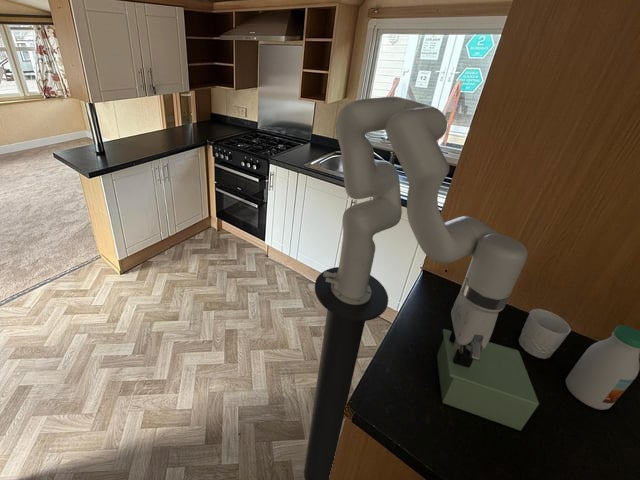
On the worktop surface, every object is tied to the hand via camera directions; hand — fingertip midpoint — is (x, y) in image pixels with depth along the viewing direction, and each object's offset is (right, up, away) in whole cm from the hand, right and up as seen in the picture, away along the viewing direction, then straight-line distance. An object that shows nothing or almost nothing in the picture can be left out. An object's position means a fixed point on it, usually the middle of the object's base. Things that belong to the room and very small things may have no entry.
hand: (458, 352), depth 70 cm
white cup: (+28, -5, +13) cm, 31 cm away
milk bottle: (+31, -10, +2) cm, 33 cm away
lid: (+5, -2, -1) cm, 5 cm away
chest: (+5, -10, +2) cm, 11 cm away
